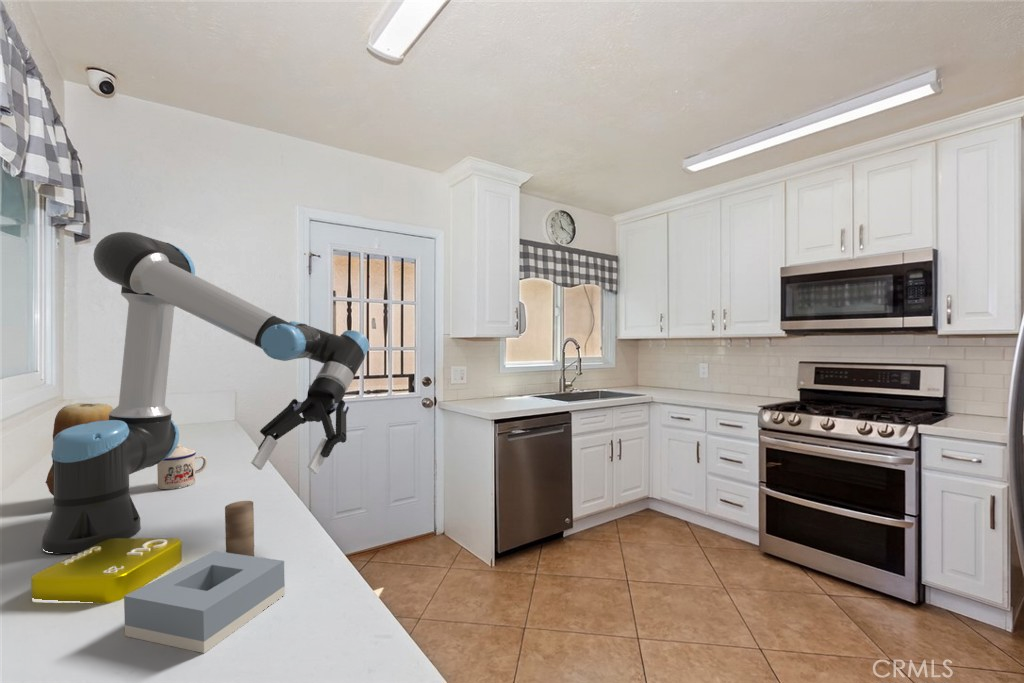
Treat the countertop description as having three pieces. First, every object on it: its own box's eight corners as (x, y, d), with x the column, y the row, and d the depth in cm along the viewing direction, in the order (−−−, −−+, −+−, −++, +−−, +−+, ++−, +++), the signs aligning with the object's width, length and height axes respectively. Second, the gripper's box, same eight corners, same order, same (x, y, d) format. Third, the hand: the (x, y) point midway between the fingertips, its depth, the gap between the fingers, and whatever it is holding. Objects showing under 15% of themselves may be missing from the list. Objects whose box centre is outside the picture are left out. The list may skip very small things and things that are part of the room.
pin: (220, 570, 82) (218, 508, 82) (240, 559, 86) (239, 499, 86) (240, 573, 81) (238, 510, 81) (260, 561, 85) (259, 501, 85)
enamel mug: (162, 492, 125) (161, 449, 125) (152, 486, 131) (151, 445, 131) (212, 481, 135) (211, 441, 135) (201, 476, 140) (200, 437, 140)
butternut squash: (114, 502, 118) (112, 404, 118) (40, 514, 110) (38, 409, 110) (121, 488, 129) (119, 398, 129) (54, 498, 122) (52, 403, 122)
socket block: (124, 635, 64) (124, 596, 64) (215, 583, 78) (214, 550, 78) (204, 653, 60) (203, 611, 60) (284, 595, 74) (284, 560, 74)
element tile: (109, 560, 88) (109, 534, 88) (187, 560, 87) (186, 534, 87) (23, 605, 73) (22, 575, 73) (116, 606, 72) (116, 575, 72)
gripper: (384, 396, 107) (345, 481, 93) (294, 395, 114) (244, 473, 100) (371, 375, 102) (327, 462, 88) (277, 375, 109) (222, 455, 95)
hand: (283, 468), depth 94 cm, fingers open, 13 cm apart
